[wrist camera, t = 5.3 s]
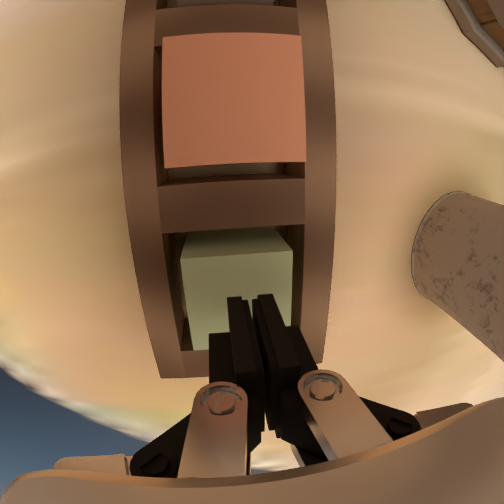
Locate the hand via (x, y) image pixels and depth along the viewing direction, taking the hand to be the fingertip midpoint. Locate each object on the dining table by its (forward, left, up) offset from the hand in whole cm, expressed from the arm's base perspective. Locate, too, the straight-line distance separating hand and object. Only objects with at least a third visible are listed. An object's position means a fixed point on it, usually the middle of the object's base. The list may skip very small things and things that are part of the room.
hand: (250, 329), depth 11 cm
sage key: (+1, 0, -7) cm, 8 cm away
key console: (-8, 0, -8) cm, 11 cm away
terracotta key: (-8, 0, -6) cm, 10 cm away
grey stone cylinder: (+1, +18, -8) cm, 20 cm away
